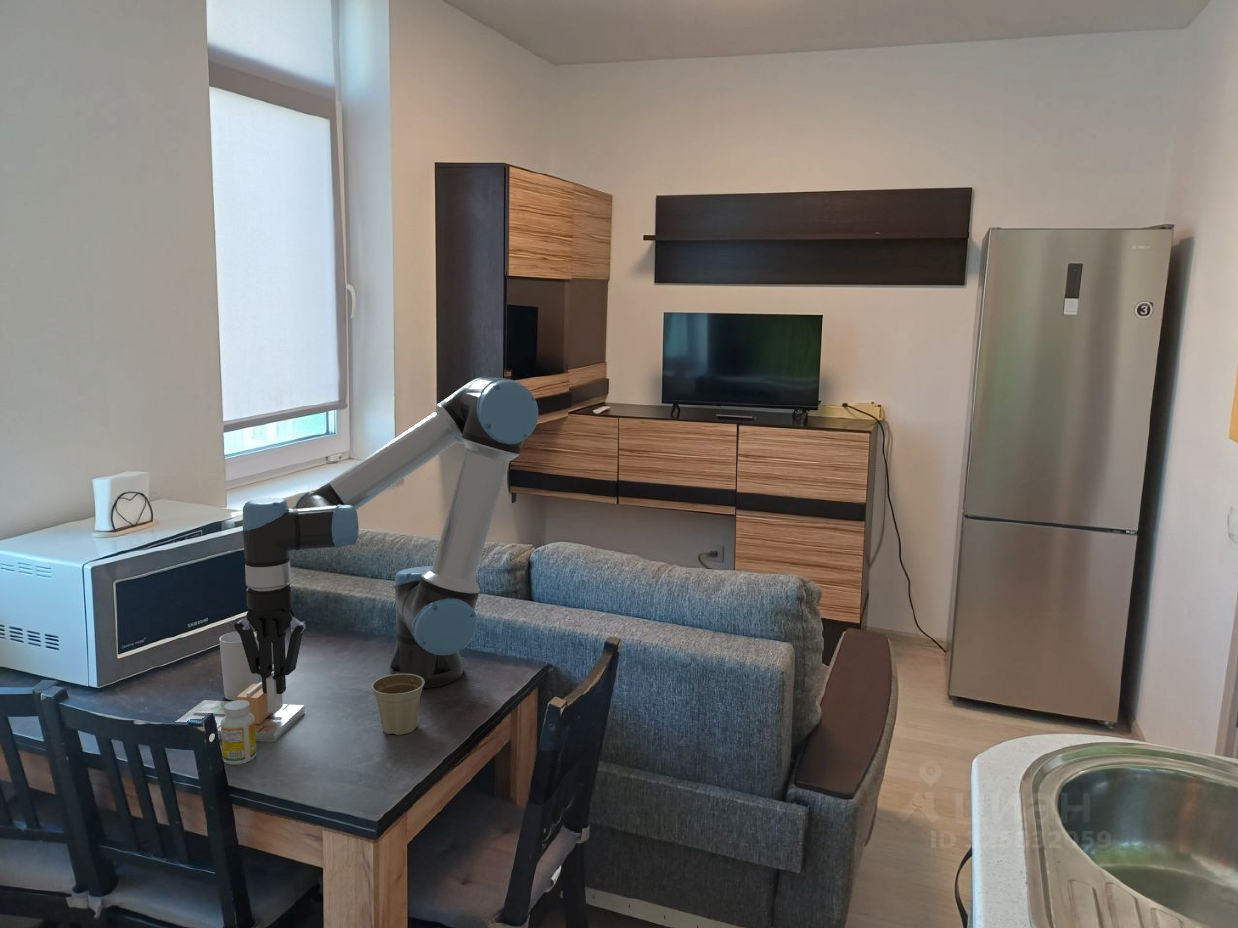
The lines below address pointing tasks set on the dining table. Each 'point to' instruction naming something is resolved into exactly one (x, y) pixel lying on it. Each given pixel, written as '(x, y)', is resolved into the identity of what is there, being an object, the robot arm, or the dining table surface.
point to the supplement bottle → (238, 733)
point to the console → (264, 731)
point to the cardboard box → (256, 701)
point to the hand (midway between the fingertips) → (275, 709)
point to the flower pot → (398, 702)
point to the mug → (235, 666)
